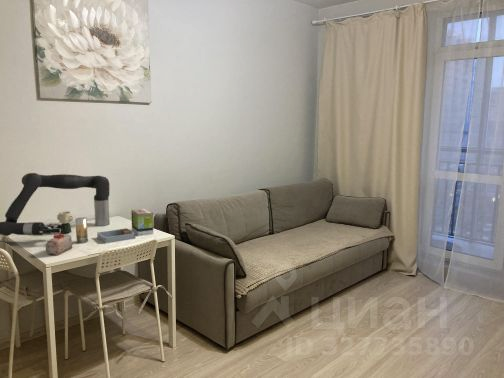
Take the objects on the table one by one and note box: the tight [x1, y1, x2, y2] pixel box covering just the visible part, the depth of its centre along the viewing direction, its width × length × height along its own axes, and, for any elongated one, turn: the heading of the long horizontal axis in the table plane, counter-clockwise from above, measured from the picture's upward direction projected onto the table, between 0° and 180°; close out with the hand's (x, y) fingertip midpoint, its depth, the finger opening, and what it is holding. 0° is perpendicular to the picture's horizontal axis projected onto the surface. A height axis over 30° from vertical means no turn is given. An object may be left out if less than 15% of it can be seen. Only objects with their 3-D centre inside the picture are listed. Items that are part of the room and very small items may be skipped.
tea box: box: [130, 208, 154, 237], centre depth 259 cm, size 15×10×15 cm
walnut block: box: [121, 228, 132, 235], centre depth 250 cm, size 6×4×4 cm, turn 37°
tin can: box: [75, 217, 89, 244], centre depth 239 cm, size 6×6×14 cm
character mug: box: [56, 210, 74, 234], centre depth 258 cm, size 11×7×13 cm, turn 79°
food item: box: [44, 233, 73, 256], centre depth 222 cm, size 14×8×10 cm, turn 169°
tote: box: [97, 227, 136, 244], centre depth 246 cm, size 14×18×4 cm
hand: (62, 228), depth 239 cm, fingers open, 8 cm apart
